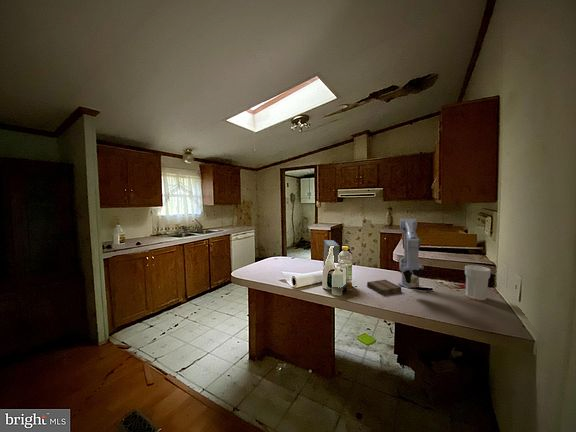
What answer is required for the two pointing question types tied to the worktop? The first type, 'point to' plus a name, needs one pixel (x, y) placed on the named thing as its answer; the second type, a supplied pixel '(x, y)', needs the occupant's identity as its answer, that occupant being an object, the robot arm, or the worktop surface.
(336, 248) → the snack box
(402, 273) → the robot arm
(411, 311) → the worktop surface
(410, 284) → the birch cube
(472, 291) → the cup
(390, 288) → the walnut base
